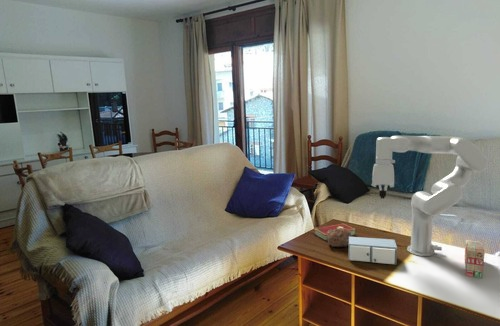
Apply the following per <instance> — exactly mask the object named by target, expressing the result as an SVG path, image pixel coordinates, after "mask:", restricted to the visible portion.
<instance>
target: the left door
mask: <svg viewBox="0 0 500 326" xmlns="http://www.w3.org/2000/svg"><path fill="white" fill-rule="evenodd" d="M397 260H398V247H397V248H395V249H387V248H375V247H373V249H372V262H371V263H377V264H388V265H395V266H397V262H398V261H397ZM394 263H395V264H394Z"/></svg>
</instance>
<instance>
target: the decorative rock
mask: <svg viewBox="0 0 500 326" xmlns="http://www.w3.org/2000/svg"><path fill="white" fill-rule="evenodd" d="M326 235H327V237H328V240H327V243H328V244H329V246H331V247H333V248H334V247H336V248H340V247H347V246H349V237H353V235H351V233H350V231H349V230H348V229H345V228H343V229H342V228H341V229H331V230H328V232H327V234H326Z"/></svg>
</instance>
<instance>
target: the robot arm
mask: <svg viewBox="0 0 500 326" xmlns="http://www.w3.org/2000/svg"><path fill="white" fill-rule="evenodd" d="M375 143H376V144H375V145H376V146H375V163H374V164H373V167H372V173H371V175H372V177H371V181H372V182H371V186H372V187H374V188H376V189H378V191H379V193H378V196H379V197H380V199H385V198H386V197H387V191H388V189H390V188H394V187H395V169H394V165H393V164H395V163H396V160H395V159H393V152H395V153H406V152H408V151H411V152H418V153H424V154H441V155H442V154H443V155H445V154H446V155H447V154H448V155H456V156H457V157H456V160H455V167H454V169H453V171H452V172H450V173H449V174H448V175H446V176H445V177H442V178H441V179H440V180H438V181H436V182H435V183H433V184H432V186H431V193H432V194H431V193H429V192H427V191H423V190H420V191H416V192H415V193H413V195H412V196H411V200H410V203H411V204H410V206H411V212H412V213H411V232H410V234H411V235H410V245H408V246H407V248H406V250H407V251H408V252H409V253H410V254H412V255H415V256H419V257H431V256H433V255H434V254H435V251H443V250H442V249H443V248H442V246H438V244H432V239H433V237H432V236H433V225H434V218H433V217H434V216H438V215H440V214H442V213H444V212H445V211H447V210H448V209H450V208H451V207H453V206H455V205H456V204H458V203H459V202H460V201H461V199H462V198H463V195H464V194H463V189H462V188H463V187H464V186H466V185H467V184H468V183H469V182H470V180H471V177H472V173H473V172H474V173H482V172H484V171H486V169H487V168H488V166H489V161H488V158H487V157H486V155H484V153H482V151H480V150H479V149H478V147H476V145H475V144H474V143H473V142H472V141H470V140H469V139H468V138H464V137H460V136H441V135H436V136H435V135H434V136H433V135H392V136H390V137H388V136H381V137H377V138H376V141H375ZM382 186H383V188H382Z"/></svg>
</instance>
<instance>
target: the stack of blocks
mask: <svg viewBox="0 0 500 326" xmlns="http://www.w3.org/2000/svg"><path fill="white" fill-rule="evenodd" d="M464 241H465V242H464V268H465V276H466V277H472V278H476V279H483V271H484V270H483V269H484V262H485V254H486V253H485V248H484V245H483V242H481V241H475V240H470V239H466V240H464Z"/></svg>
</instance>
